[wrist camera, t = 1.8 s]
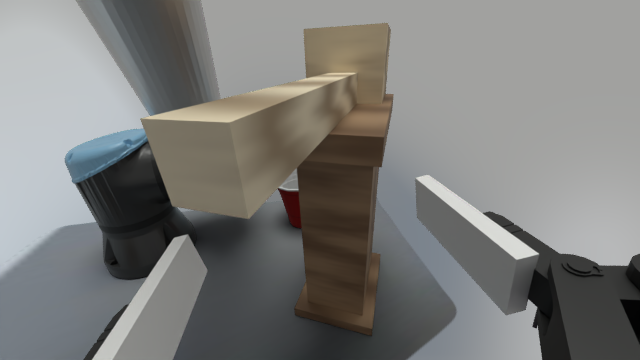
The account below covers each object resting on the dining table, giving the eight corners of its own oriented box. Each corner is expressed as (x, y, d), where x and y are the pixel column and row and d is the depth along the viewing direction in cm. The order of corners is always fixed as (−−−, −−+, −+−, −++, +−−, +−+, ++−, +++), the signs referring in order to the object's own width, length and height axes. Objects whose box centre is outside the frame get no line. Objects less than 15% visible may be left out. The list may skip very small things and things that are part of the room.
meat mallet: (324, 94, 33) (323, 34, 30) (385, 94, 31) (390, 30, 27) (119, 197, 9) (0, -52, 6) (326, 232, 7) (317, -137, 4)
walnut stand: (322, 249, 47) (316, 93, 34) (379, 260, 44) (397, 93, 31) (278, 354, 31) (235, 129, 17) (366, 383, 28) (392, 137, 14)
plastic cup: (268, 223, 55) (261, 176, 50) (302, 203, 62) (298, 160, 57) (301, 243, 49) (297, 192, 43) (335, 219, 56) (334, 172, 50)
